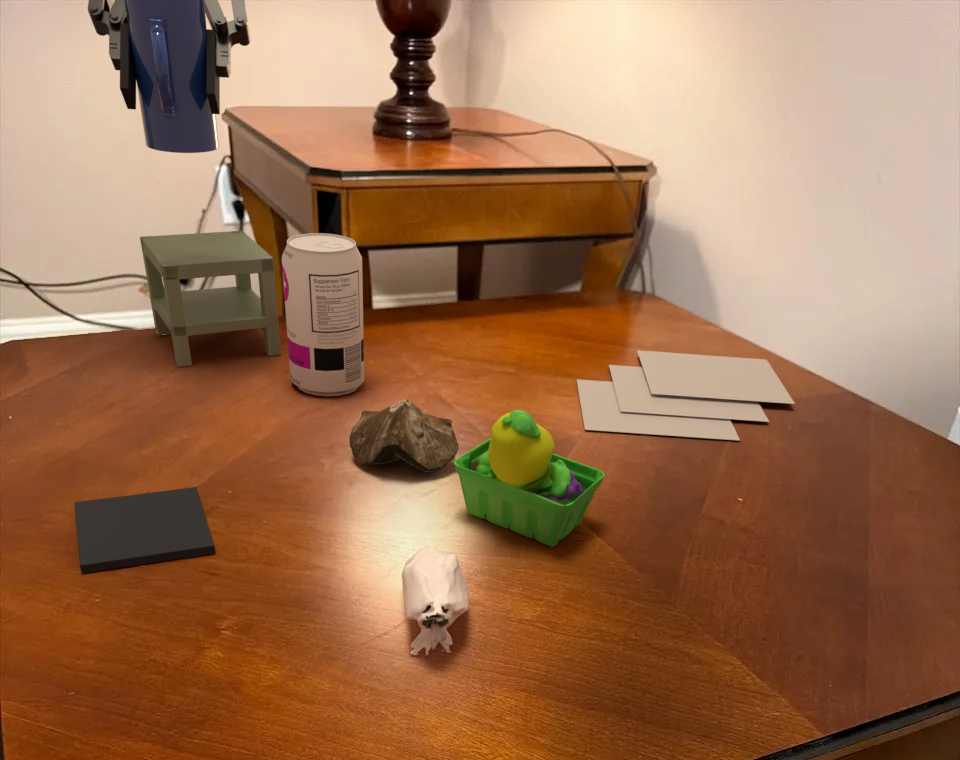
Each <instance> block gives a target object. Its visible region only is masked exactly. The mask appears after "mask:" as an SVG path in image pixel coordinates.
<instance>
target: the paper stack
mask: <svg viewBox="0 0 960 760" xmlns="http://www.w3.org/2000/svg"><path fill="white" fill-rule="evenodd" d="M636 352H637V355H638V358H639V361H640V364H641V366H633V365H620V364H608V369H609V372H610V376H611V380H612V381H609V380H608V381H607V380H591V379H579V378H577V379H576V385H577V390H578V396H579V402H580V408H581V414H582V421H583V426H584V430H585V431H596V432H610V433H622V434H623V433H626V434H638V435H639V434H640V435H654V436H669V437H682V438H694V439H695V438H697V439H709V440H724V441H725V440H727V441H741V438H740V437H739V434H738V433H737V431H736V429H735V426H734V425H733V423H732V421H731V420H734V421H735V420H737V421H747V422H762V423H770V420H769V419H768V417H767V415H766V413H765V411H764V410H763V407H762V406H761V404H760V402H761V403H773V404H774V403H775V404H787V405H789V404H790V405H796V403H795V401H794V399H793V398H792V397H791V395H790V393H789V392H788V390H787V389H786V387H785V385H784V384H783V382H782V381H781V379H780V378H779V376H778V375H777V373H776V371H775V370H774V369H773V367H772V366H771V363H769V361H768V359H765V358H751V357H737V356H722V355H710V354H709V355H708V354H697V353H696V354H695V353H683V352H682V353H681V352H680V353H679V352H669V351H653V350H638V349H636Z"/></svg>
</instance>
